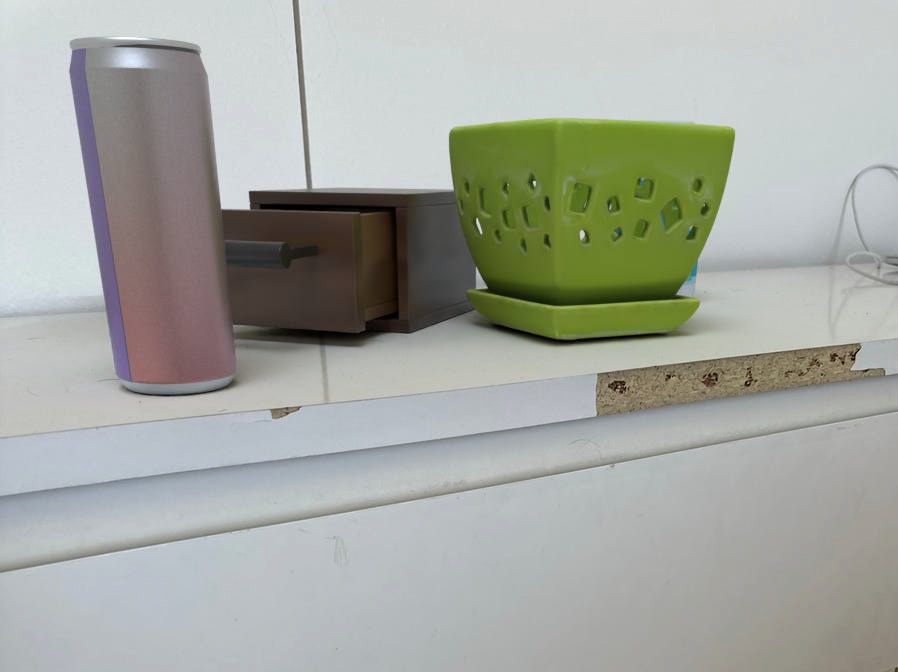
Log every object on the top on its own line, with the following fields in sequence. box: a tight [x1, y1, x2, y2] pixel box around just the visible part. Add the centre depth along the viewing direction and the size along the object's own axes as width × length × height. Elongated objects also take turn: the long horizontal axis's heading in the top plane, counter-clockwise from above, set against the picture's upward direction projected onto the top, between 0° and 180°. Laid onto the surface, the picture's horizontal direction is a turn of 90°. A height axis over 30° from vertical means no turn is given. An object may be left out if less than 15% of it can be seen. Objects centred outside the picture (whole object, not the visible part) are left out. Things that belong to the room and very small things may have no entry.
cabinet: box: [248, 187, 477, 334], centre depth 71 cm, size 14×12×9 cm
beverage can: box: [68, 36, 238, 396], centre depth 47 cm, size 6×6×15 cm
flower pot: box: [448, 117, 736, 341], centre depth 65 cm, size 14×14×13 cm
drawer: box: [221, 206, 399, 334], centre depth 63 cm, size 17×10×7 cm, turn 161°
